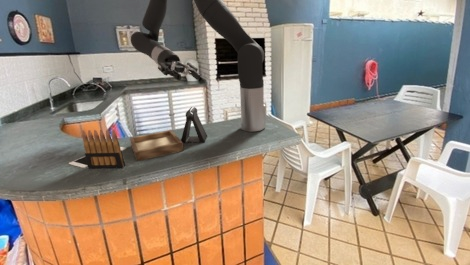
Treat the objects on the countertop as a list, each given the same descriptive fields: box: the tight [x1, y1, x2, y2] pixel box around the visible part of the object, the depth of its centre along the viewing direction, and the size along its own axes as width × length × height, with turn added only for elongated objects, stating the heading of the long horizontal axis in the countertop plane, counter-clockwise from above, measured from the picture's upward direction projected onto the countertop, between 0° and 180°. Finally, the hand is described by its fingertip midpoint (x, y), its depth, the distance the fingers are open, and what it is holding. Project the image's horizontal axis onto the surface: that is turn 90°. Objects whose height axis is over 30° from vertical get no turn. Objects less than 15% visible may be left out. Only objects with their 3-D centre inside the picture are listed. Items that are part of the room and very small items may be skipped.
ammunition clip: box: [81, 129, 126, 170], centre depth 72 cm, size 11×2×12 cm, turn 87°
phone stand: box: [180, 106, 208, 144], centre depth 91 cm, size 9×6×12 cm, turn 86°
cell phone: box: [68, 146, 127, 169], centre depth 83 cm, size 8×16×1 cm, turn 154°
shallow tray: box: [129, 129, 184, 162], centre depth 87 cm, size 15×15×3 cm
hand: (189, 77), depth 89 cm, fingers open, 8 cm apart
